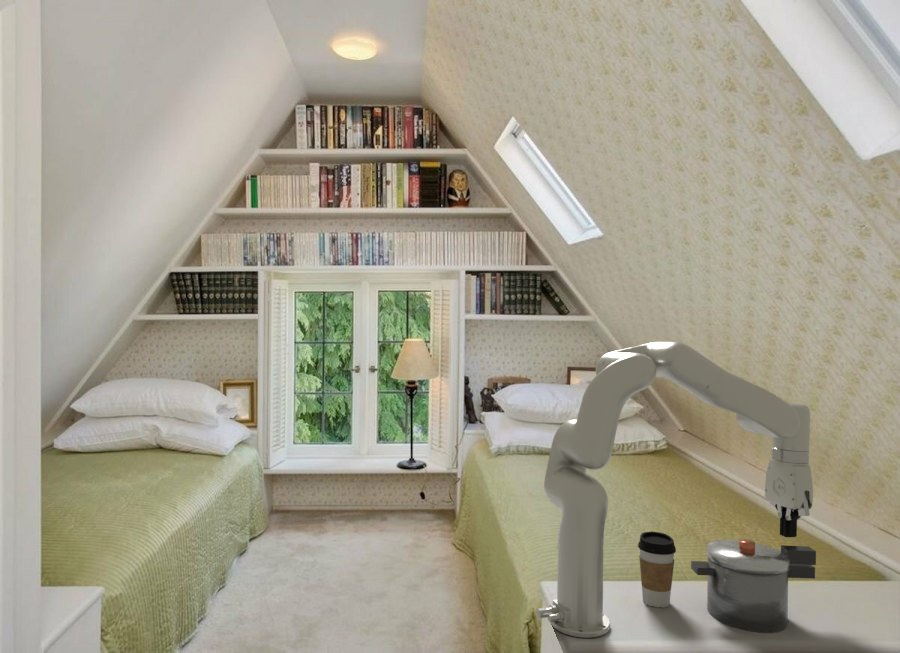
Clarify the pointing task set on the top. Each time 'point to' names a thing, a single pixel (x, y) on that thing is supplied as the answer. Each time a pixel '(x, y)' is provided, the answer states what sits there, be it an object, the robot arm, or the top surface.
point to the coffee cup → (656, 567)
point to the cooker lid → (758, 556)
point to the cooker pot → (749, 595)
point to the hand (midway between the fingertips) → (788, 535)
